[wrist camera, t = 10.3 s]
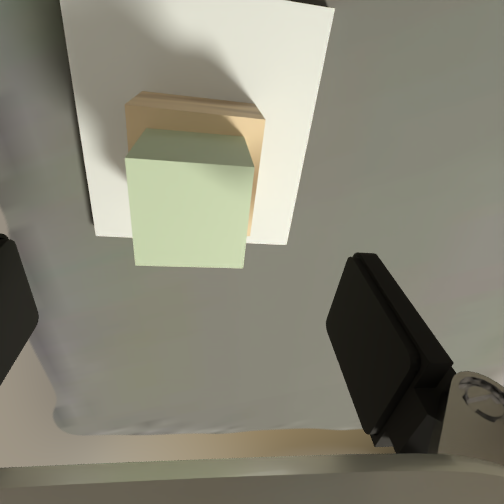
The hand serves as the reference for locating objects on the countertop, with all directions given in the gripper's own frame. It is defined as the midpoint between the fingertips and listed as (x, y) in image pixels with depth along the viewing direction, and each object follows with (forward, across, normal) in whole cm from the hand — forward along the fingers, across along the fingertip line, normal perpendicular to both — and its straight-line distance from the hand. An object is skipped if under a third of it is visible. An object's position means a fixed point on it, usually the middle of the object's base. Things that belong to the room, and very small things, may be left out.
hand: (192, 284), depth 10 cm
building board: (+16, 0, 0) cm, 16 cm away
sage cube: (+10, 0, +1) cm, 10 cm away
